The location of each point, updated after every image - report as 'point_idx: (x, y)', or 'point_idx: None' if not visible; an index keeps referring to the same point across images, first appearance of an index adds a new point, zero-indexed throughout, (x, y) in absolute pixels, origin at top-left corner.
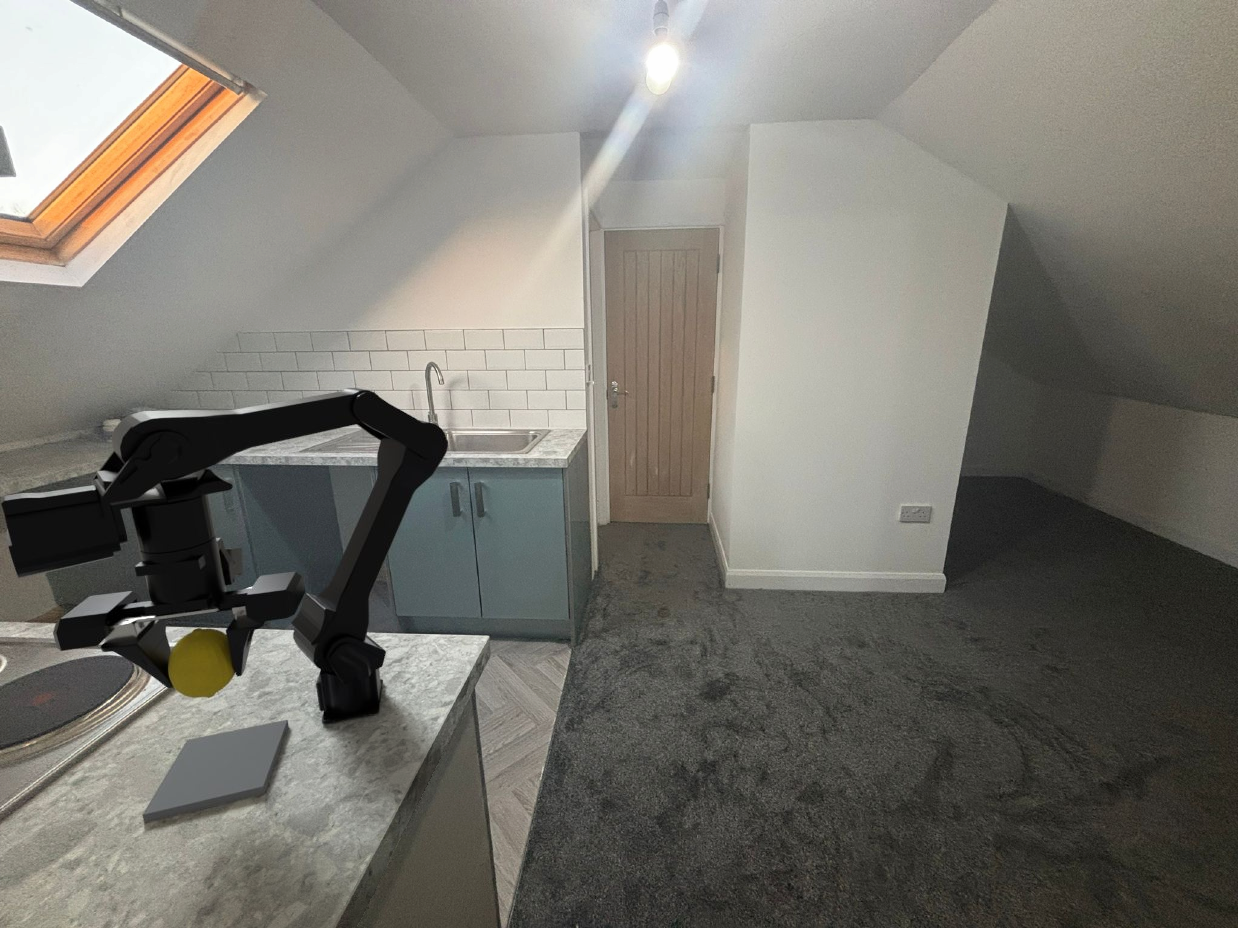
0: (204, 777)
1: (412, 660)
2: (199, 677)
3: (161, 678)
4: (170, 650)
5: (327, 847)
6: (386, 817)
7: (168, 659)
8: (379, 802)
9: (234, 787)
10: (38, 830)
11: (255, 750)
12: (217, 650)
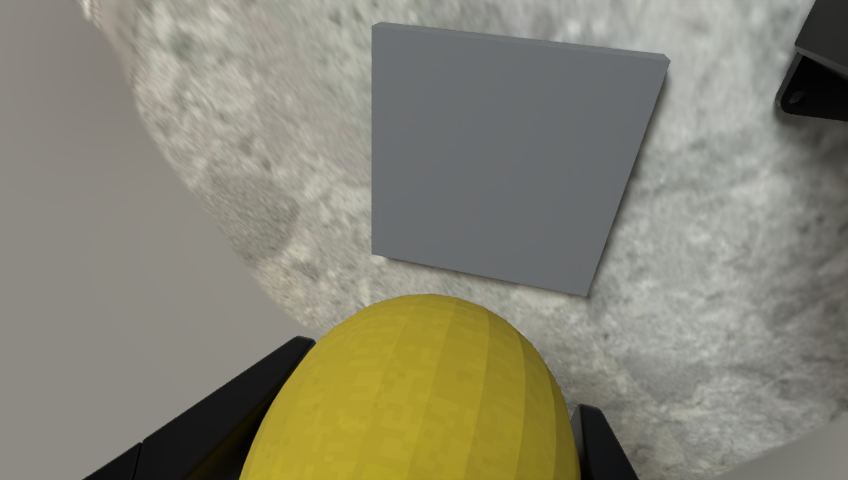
0: (459, 211)
1: None
2: None
3: None
4: (196, 474)
5: (679, 429)
6: (794, 435)
7: (230, 471)
8: (798, 407)
9: (527, 269)
10: (205, 170)
11: (567, 172)
12: None
